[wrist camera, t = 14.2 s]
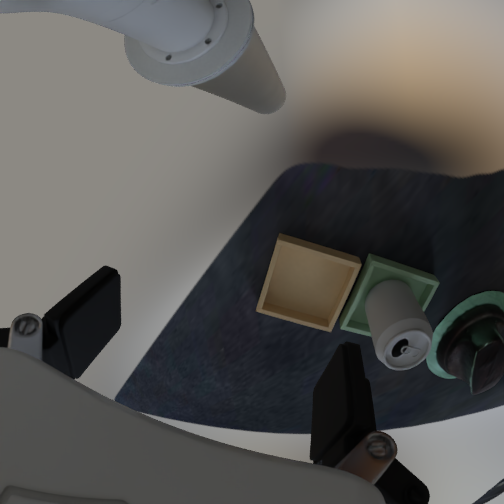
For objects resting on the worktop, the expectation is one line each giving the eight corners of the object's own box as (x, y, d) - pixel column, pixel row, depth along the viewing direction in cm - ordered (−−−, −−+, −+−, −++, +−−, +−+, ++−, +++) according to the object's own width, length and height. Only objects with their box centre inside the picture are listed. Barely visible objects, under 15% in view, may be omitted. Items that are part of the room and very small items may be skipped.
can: (374, 271, 38) (395, 321, 27) (418, 282, 38) (447, 332, 27) (356, 314, 41) (367, 371, 31) (398, 323, 41) (418, 378, 30)
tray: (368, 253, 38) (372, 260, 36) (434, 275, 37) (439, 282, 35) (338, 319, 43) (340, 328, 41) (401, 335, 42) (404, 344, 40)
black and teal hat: (408, 338, 41) (500, 264, 34) (426, 355, 52) (497, 300, 45) (445, 417, 30) (549, 336, 23) (453, 413, 41) (530, 355, 34)
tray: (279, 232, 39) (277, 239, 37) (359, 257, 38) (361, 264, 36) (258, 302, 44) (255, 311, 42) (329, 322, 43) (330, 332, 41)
